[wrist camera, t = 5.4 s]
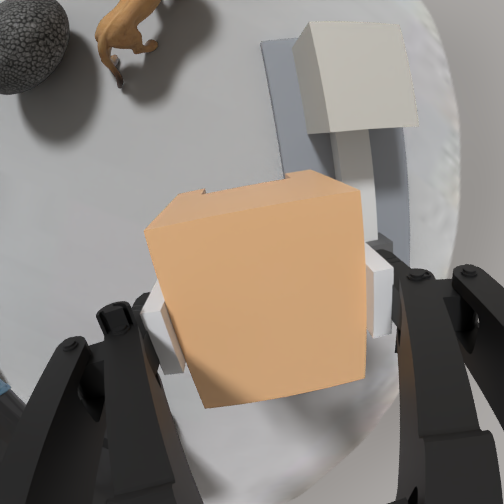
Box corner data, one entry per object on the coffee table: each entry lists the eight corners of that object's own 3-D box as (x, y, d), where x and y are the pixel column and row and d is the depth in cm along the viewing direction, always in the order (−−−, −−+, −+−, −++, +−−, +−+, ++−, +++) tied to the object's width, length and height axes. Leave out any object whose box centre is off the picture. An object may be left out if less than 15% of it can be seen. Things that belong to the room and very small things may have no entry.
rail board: (299, 290, 32) (317, 334, 25) (260, 44, 24) (269, 12, 17) (405, 268, 32) (443, 302, 24) (381, 40, 24) (423, 17, 16)
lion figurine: (154, -40, 20) (131, -87, 11) (204, -35, 21) (194, -85, 12) (99, 85, 24) (51, 69, 16) (149, 94, 25) (114, 77, 17)
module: (212, 324, 19) (204, 408, 13) (178, 193, 16) (143, 230, 10) (325, 302, 19) (364, 377, 12) (310, 169, 16) (360, 190, 10)
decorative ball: (74, 96, 24) (14, 85, 15) (3, 100, 23) (-59, 97, 14) (97, 5, 21) (51, -34, 12) (23, 17, 20) (-30, -6, 11)
